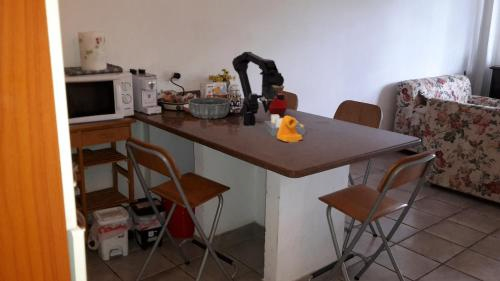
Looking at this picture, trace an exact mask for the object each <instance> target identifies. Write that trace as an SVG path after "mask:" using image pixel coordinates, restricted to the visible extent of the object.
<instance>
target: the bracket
mask: <svg viewBox="0 0 500 281" xmlns="http://www.w3.org/2000/svg"><path fill="white" fill-rule="evenodd" d="M282 118H283V119H282V122H281V125H280V128H279V131H278V133H277V136H276V139H278V140H280V141H283V142H287V143H297V142H299V141H300V140H303V135H300V134H297V131H296V127H295V125H296V120H297V119H296V118H295V117H293V116H290V115H284V116H283V117H282Z"/></svg>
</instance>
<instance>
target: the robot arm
mask: <svg viewBox="0 0 500 281" xmlns="http://www.w3.org/2000/svg"><path fill="white" fill-rule="evenodd" d="M231 62H232V66H233V69H234V71H235V72H236V73H237V74H238V78H239V82H240V86H241V90H242V94H243V101H242V107H241V108H239V109H240V110H239V113H240V114H241V115H242V122H241V123H242V125H244V126H255V125H256V116H255V115H256V114H258V110H259V109H260V108H259V106H260V105H259V104H260V102H261V104H262V106H263V109H264V112H265V113H266V114H267V113H268V112H269V110H268V109H269V106H270V104H271V103H272V102H274V98H278V99H279V100H285V99H286V97H285V94H284V95H283V94H282V93H278V90H274V91H273V85H275V86H282V85H283V86H284V83H285V79H284V76H283V75H282V72H279V69H278V67H277V65H276V62H275V60H273V59H270V58H268V59H267V58H263V57H261V56H259V55H258V54H255V53H253V52H252V51H244V52H242V53H241V54H240V55H238V56H236V57H234V58H233V59H232V61H231ZM250 63H253V64H254V65H257V66H258V69H260V70H261V71H260V73H259V75H261V93H260V94H257V93H253V92H252V87H251V84H250V80H249V76H248V67H249V64H250ZM259 101H260V102H259Z"/></svg>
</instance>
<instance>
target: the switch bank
mask: <svg viewBox="0 0 500 281" xmlns="http://www.w3.org/2000/svg"><path fill="white" fill-rule="evenodd" d="M263 123H264V124H263V128H264V130H265V131H267V133H268V134H270V136H272V137H273V136H274V137H275V136H276V137H277V133H278V131H279V128H280V127H275V123H271V120H264V122H263ZM295 127H296V131H297V134H300V135H302V136H306V127H305V126H304V125H303V124H301V123H300V122H299V121H298V120H297V119H296V125H295Z"/></svg>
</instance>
